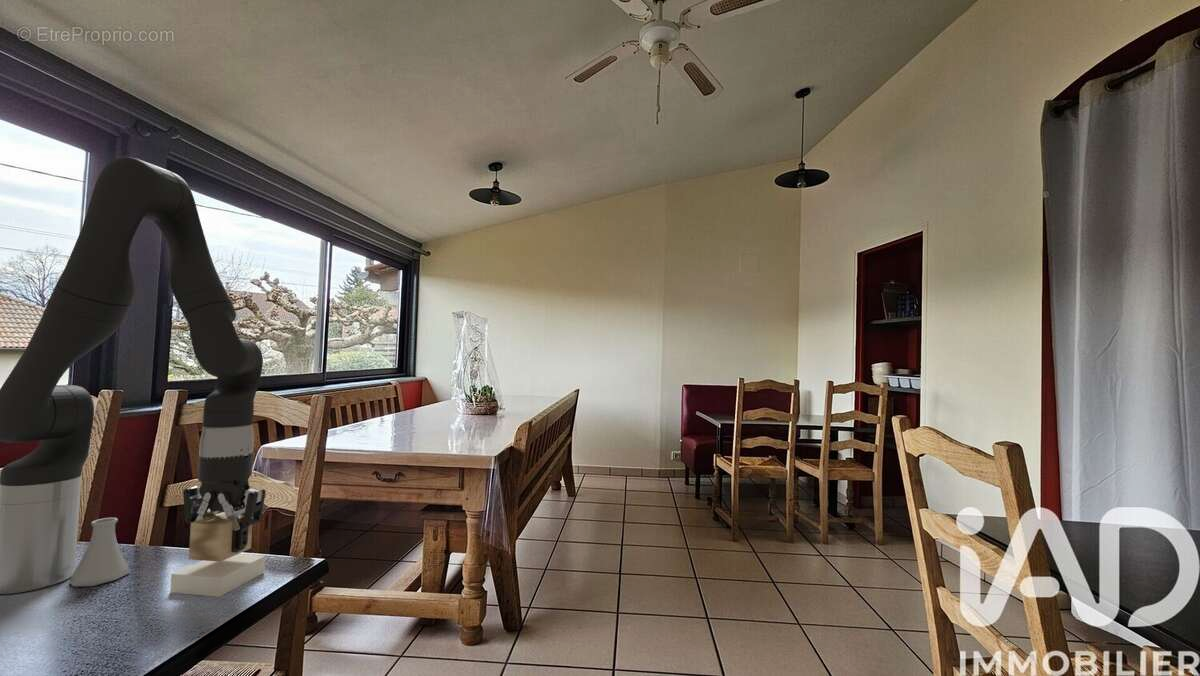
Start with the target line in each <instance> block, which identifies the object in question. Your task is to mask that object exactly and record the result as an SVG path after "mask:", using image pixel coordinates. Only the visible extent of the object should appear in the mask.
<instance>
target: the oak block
mask: <svg viewBox="0 0 1200 676" xmlns="http://www.w3.org/2000/svg"><path fill="white" fill-rule="evenodd" d="M238 517H239V519H240V522H241V521H242V518H241V517H240V516H238ZM252 518H253V517H252ZM232 522H233V521H230V519H227V518H226V515H225V512H218V513H217V514H216V515H215V516H210V517H207V518H206V519H201V520H198V521H195V522H192V523H190V529H189V530H190V532H189V533H190V534H189V550H188V560H190V561H191V560H193V561H195V560H196V561H202V560H204V561H217V562H221V561H224V560H226V559H228V558H230V557H232V556H235V555H237V554H242V553H243V552H245V551H248V550H250V549H251V548H252V539H253V538H252V536H253V525H251V526H249V528H248V543H247V546H245V548H244V549H243V550H241V551H239V552H232V551H231V548H232V531H234V529H233V526H232Z"/></svg>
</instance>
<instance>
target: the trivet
mask: <svg viewBox="0 0 1200 676" xmlns="http://www.w3.org/2000/svg"><path fill="white" fill-rule="evenodd" d="M265 561H266V556H265V555H257V554H256V555H255V554H254V555H253V554H245V553H244V554H242V553H239V554H237V555H235V556H232V557H230V558H228V559H226V560H224V561H221V562H217V561H204V560H199V561H198V562H196V563H194V564H192V565H188V566H187V567H184V568H181V569H179V570H177V571H175V572H173V573H171V574H170V577H171V578H170V588H169V589H170V590H169V591H170V593H172V594H181V595H182V594H185V595H196V596H206V597H215V598H216V597H218V598H220V597H222V596H223V595H225V594H228V593H229V592H231V591H233V590H235V589H236V588H237V589H238V588H239V587H241V586H243V585H244V584H246V583H248V582H250V581H252V580H254V579H255V578H258V577H259V576H261V575H263V574H265V565H266V564H265V563H266V562H265Z"/></svg>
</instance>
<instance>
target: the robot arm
mask: <svg viewBox="0 0 1200 676" xmlns="http://www.w3.org/2000/svg"><path fill="white" fill-rule="evenodd" d="M143 219H148V220H152V222H153V223H154V224H155V225H156V226H157V227H158V229H159V230H160V232H161V234H162V236H163V237H164V239H165V241H166V243H167V246H168V250H169V270H168V271H169V285H170V289H171V292H172V294H173V296H174V298H175V301H176V302H177V305H178V308H180V311H181V313H182V315H183V316H184V318H185V320H186V322H187V324H188V328H189V330H188V331H189V336H190V340H191V344H192V349H193V352H194V356H195V358H196V360H197V362H198V364H199V365H200V366H201V368H202V369H203V370H204V371H205V373H207V374H208V375H211V376H212V377H216V383H215V388H214V390H213V391H212V392H211V393H210V394H208V395H207V396H206V398H205V399H204V404H203V412H202V413H203V417H202V428H201V429H202V430H201V435H200V440H199V447H198V448H199V451H198V453H199V454H198V465H197V466H198V467H197V480H198V481H199V482H200V483H201V484H200V485H195V486H191V487H187V488H184V490H182V491H183V493H182V494H183V509H184V522H185V523H186V524H191V523H192V522H195V521H198V520H201V519H206V518H207V517H210V516H215V515H216V514H219V513H222V512H225V515H226V518H227V519H230V521H233V522H232V526H233V529H234V531H232V548H231V551H232V552H239V551H241V550H243V549H244V548H245V546H247V543H248V528H249V526H251V525H252V526H254V525H257V524H259V523H261V520H262V514H263V509H264V503H265V499H266V493H267V492H266V490H265V489H264V488H260V489H254V488H253V489H252V488H251V486H250V483H249V479H250V477H252V475H253V465H254V464H253V462H254V444H255V443H254V441H255V433H254V413H255V411H254V410H255V408H254V407H255V396H256V393H257V390H258V387H259V384H260V380H261V376H262V371H263V364H264V360H263V354H262V350H261V348H260V347H259V346H258V345H257V343H255V342H254V341H252V340H250V339H247V338H240V337H239V335H238V333H237V331H236V328H235V325H234V323H233V322H234V321H236V317H237V312H236V310H235V307H234V304H233V302H232V300H231V298H230V296H229V294H228V292H227V290H226V289H225V286H224V284H223V283H222V280H221V278H220V276H219V274H218V272H217V269H216V267H215V265H214V264H215V263H214V261H213V260H212V256H211V252H210V250H209V247H208V244H207V240H206V237H205V233H204V229H203V226H202V224H201V223H202V222H201V218H200V216H199V212H198V208H197V204H196V201H195V198H194V195H193V193H192V190H191V188H190V186H189V183H188V182H186V181H185V179H184V178H182V177H181V176H180V175H179V174H177V173H175V172H174V171H173V172H172V171H171V170H168V169H165V168H164V167H163V168H162V167H161V166H158V165H155V164H153V163H150V162H147V161H144V160H142V159H140V158H135V157H131V156H121V157H117V158H115V159H112V160H111V161H110V162H108V163H107V164H106V165H105V166H104V167H103V168H102V169H101V172H99V175H98V177H97V179H96V182H95V185H94V188H93V190H92V194H91V197H90V201H89V204H88V208H87V210H86V214H85V216H84V220H83V224H82V226H81V230H80V232H79V234H78V236H77V239H76V240H75V244H74V246H73V249H72V251H71V252H70V256H69V258H68V260H67V262H66V265H65V267H64V269H63V271H62V273H61V275H60V276H59V278H58V280H57V282H56V284H55V286H54V288H53V290H52V292H51V295H50V297H49V298H48V301H47V303H46V305H45V309H44V310H43V312H42V316H41V318H40V320H39V322H38V324H37V326H36V328H35V330H34V331H33V334H32V336H31V338H30V341H28V344H27V346H26V347H25V349H24V352H23V353H22V355H21V356H20V358H19V360H18V361H17V362H16V364H15V365H14V367H13V369H12V370H11V372H10V373H9V374H8V376H7V378H6V380H5V381H4V383H3V384H2V386H1V387H0V442H2V443H8V444H9V443H12V444H13V443H27V442H28V443H29V442H34V441H35V442H36V441H37V442H38V441H40V442H39V444H38V446H37V447H36V448H35V449H34V450H33V451H31V452H30V453H28V454H27V455H25V456H23V457H21V458H18V459H16V460H14V461H12V462H10V463H8V464H6V465H4V466H3V467H2V469H1V471H0V595H9V594H10V595H11V594H18V593H24V592H30V591H35V590H38V589H42V588H45V587H49V586H53V585H56V584H58V583H61V582H64V581H66V580H68V579H69V578H70V579H71V577H72V575H73V573H74V572H75V565H76V553H77V541H78V540H77V539H78V531H79V530H78V529H79V515H80V505H81V504H80V503H81V491H82V490H81V487H82V474H83V473H82V472H83V467H84V464H85V463H86V461H87V459H88V457H89V453H90V445H91V439H92V432H93V425H94V419H95V404H94V400H93V398H92V395H91V394H90V392H89V391H88V390H87V389H85V388H84V387H83V386H79V385H74V384H73V385H72V384H65V385H64V384H62V385H60V384H59V385H58V383H59V381H60V380H61V378H62V377H63V375H64V374H65V373H66V372H67V370H68V369H69V368H71V366H72V365H74V364H75V363H76V362H77V361H79V360H80V359H81V358H83V356H84V357H85V356H86V355H87V354H88V353H90V352H91V351H92V350H94V349H95V348H97V347H98V346H99V345H101V344H102V343H104V342H105V341H106V340H108V339H109V338H110V337H111V336H112V335H113V334H115V332H116V331H117V330H118V329H119V328H120V326H121V325H122V323H123V322H124V319H125V318H126V315H127V313H128V310H129V309H130V307H131V305H132V303H133V299H134V296H135V292H136V282H135V281H136V280H135V277H134V276H135V274H134V270H133V267H132V261H131V246H132V242H133V239H134V237H135V234H136V232H137V230H138V228H139V227H140V224H141V223H142V220H143ZM238 508H239V510H237V509H238ZM194 509H195V510H194ZM194 511H195V512H194ZM194 513H195V514H194ZM238 516H240V517H241V518H242V521H241V522H240V519H239V517H238ZM252 517H253V518H252Z"/></svg>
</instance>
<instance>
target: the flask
mask: <svg viewBox="0 0 1200 676" xmlns="http://www.w3.org/2000/svg"><path fill="white" fill-rule="evenodd" d="M118 521H119V519H118V518H117V517H104V518H99V519H96V520H93V521H91V522H90V526H92V535H91V537H90V540H89V542H88V546H87V547H86V549H85V551H84V554H83V556H82V557H81V558H80V561H79V563H78V565H77V567H76V568H75V569H74V573H73V575H72V576H71V577H70V579H69V581H68V583H69V584H70V585H72V587H94V586H98V585H102V584H105V583H108V582H112V581H115V580H116V581H117V580H118V579H120V578H123V577H124V576H126V575H128V574H130V573H131V570H130V568H129V566H128V564H127V562H126V558H125V557H124V555H123V552H122V550H121V548H120V546H119V543H118V540H117V536H116V535H117V534H116V523H118Z"/></svg>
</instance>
